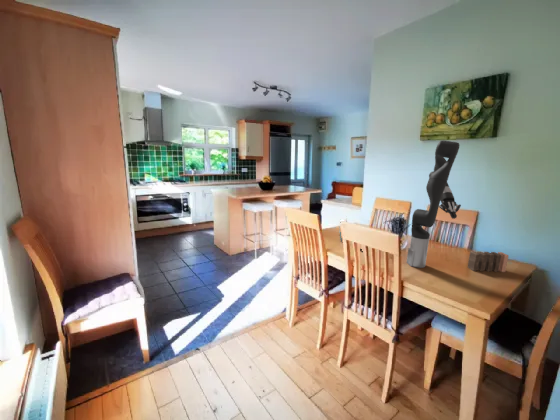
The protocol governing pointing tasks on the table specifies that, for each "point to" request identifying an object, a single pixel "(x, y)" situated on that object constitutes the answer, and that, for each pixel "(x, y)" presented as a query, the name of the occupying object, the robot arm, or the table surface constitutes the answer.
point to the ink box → (343, 220)
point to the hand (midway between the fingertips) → (454, 218)
